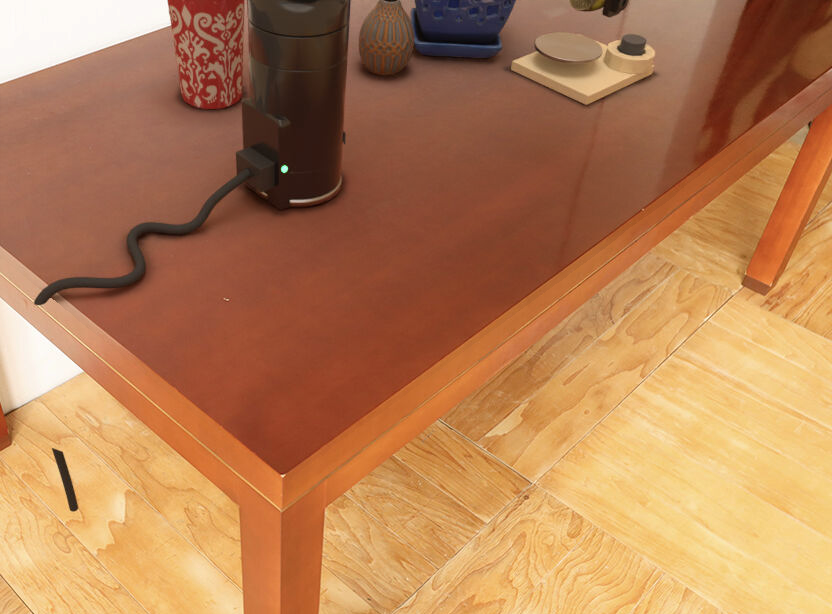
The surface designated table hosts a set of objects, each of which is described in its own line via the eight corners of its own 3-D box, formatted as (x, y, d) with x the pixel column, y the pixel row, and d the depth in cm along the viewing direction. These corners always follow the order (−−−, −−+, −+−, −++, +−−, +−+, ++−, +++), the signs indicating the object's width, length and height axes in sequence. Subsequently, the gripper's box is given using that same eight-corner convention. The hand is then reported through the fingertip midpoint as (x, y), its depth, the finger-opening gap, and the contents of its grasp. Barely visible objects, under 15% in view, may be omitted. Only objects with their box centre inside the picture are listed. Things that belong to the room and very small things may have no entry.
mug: (228, 120, 98) (223, 0, 88) (160, 103, 100) (147, -16, 91) (275, 76, 106) (274, -39, 97) (210, 61, 108) (203, -52, 99)
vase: (411, 59, 111) (419, -11, 105) (410, 83, 106) (418, 11, 100) (358, 55, 111) (363, -15, 105) (355, 79, 106) (359, 7, 100)
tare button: (633, 59, 107) (637, 46, 105) (613, 51, 108) (617, 37, 107) (647, 53, 108) (651, 39, 107) (627, 45, 110) (631, 31, 108)
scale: (589, 106, 103) (595, 83, 101) (510, 69, 110) (514, 46, 107) (657, 74, 110) (664, 51, 108) (579, 41, 116) (584, 19, 114)
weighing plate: (574, 69, 103) (575, 66, 103) (520, 46, 108) (521, 43, 107) (615, 52, 107) (616, 48, 107) (562, 29, 112) (562, 26, 111)
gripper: (544, -207, 75) (509, -9, 87) (684, -173, 67) (624, 39, 80) (596, -217, 79) (556, -25, 91) (736, -185, 71) (671, 20, 83)
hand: (588, 4), depth 85 cm, fingers closed on lime, 5 cm apart
